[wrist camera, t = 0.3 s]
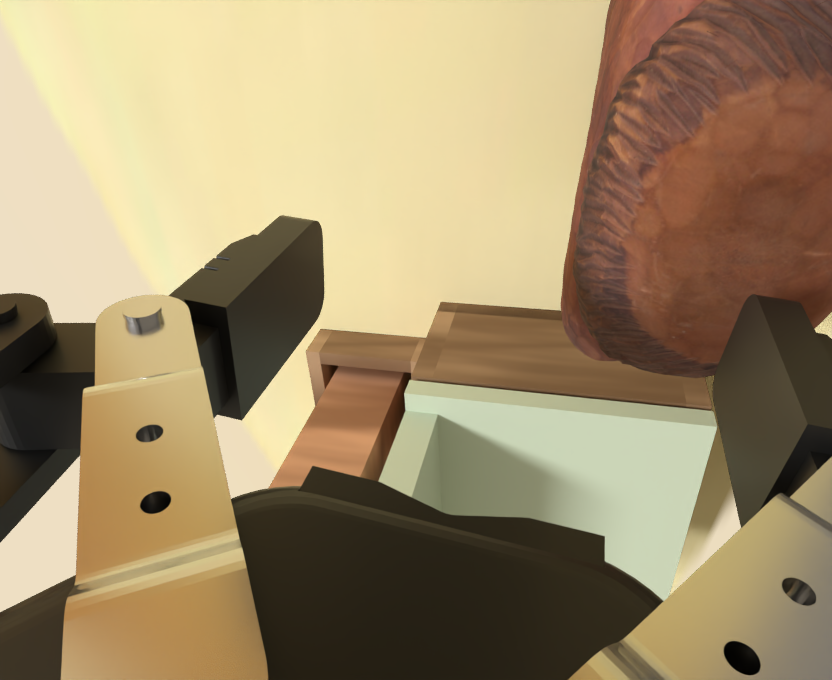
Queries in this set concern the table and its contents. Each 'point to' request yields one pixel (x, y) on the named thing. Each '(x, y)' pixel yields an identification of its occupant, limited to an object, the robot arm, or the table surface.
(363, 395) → the wooden peg
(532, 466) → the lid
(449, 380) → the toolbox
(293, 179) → the table surface
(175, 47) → the table surface
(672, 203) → the wooden figurine
